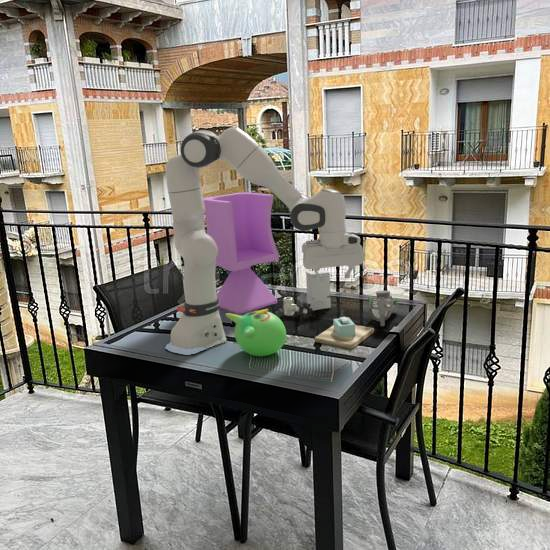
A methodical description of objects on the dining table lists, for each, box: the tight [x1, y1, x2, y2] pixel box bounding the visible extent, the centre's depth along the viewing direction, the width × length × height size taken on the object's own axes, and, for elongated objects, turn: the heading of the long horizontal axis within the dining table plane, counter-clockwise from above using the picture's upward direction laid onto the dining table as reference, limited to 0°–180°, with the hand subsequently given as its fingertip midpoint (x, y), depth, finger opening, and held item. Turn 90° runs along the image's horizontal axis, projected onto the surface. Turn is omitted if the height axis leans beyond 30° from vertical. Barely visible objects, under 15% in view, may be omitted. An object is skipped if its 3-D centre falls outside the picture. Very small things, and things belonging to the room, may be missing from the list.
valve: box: [282, 296, 313, 321], centre depth 205 cm, size 7×7×12 cm
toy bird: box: [224, 308, 287, 357], centre depth 172 cm, size 18×17×15 cm
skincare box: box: [305, 269, 332, 312], centre depth 212 cm, size 8×6×15 cm
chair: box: [203, 192, 280, 316], centre depth 219 cm, size 22×22×45 cm
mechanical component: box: [367, 297, 398, 327], centre depth 189 cm, size 3×10×10 cm, turn 59°
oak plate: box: [314, 324, 375, 350], centre depth 182 cm, size 16×14×2 cm
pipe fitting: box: [368, 290, 399, 322], centre depth 198 cm, size 12×8×10 cm, turn 144°
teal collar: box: [333, 316, 356, 338], centre depth 181 cm, size 7×5×4 cm
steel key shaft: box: [339, 316, 349, 325], centre depth 181 cm, size 4×2×5 cm, turn 9°
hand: (333, 279), depth 180 cm, fingers open, 8 cm apart
